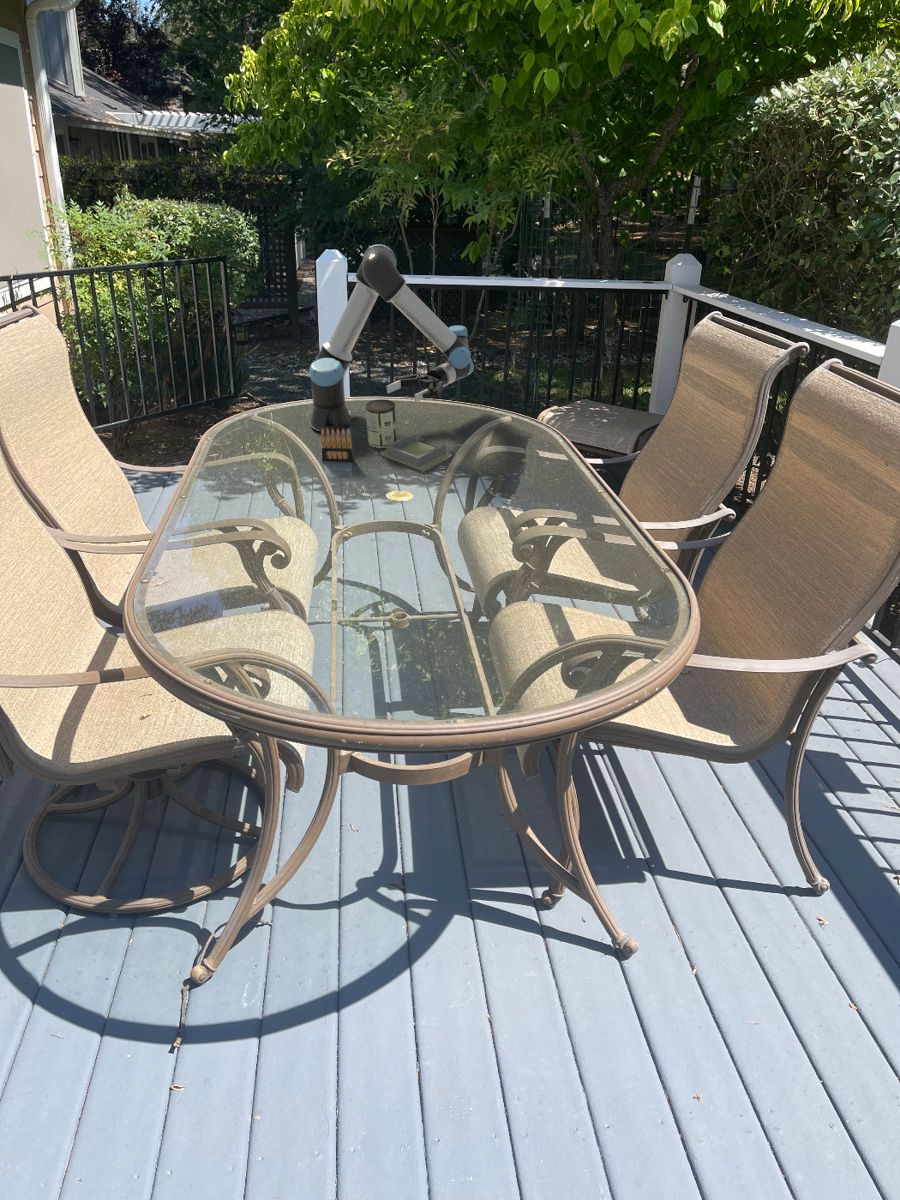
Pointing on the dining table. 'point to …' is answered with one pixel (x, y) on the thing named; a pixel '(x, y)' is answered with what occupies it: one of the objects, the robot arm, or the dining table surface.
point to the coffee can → (381, 423)
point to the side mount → (415, 453)
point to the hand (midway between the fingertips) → (401, 393)
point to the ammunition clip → (336, 447)
